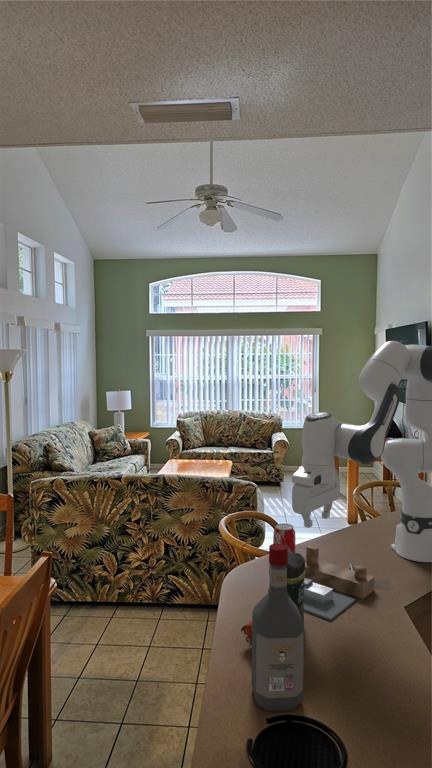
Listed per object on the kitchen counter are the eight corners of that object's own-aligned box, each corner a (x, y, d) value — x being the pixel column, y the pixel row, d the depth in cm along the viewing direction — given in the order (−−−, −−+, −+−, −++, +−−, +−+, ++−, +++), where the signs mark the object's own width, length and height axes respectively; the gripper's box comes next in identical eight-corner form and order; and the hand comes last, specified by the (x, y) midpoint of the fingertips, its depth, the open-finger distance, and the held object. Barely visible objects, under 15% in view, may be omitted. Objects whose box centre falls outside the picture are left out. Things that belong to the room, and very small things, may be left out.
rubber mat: (298, 582, 154) (298, 580, 154) (355, 601, 142) (355, 599, 142) (271, 598, 143) (271, 596, 143) (330, 621, 132) (330, 618, 132)
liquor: (305, 711, 99) (307, 555, 97) (257, 713, 98) (258, 556, 96) (294, 680, 108) (296, 538, 106) (250, 682, 107) (251, 539, 105)
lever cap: (294, 596, 144) (294, 581, 144) (304, 589, 148) (304, 576, 147) (323, 606, 138) (324, 591, 138) (333, 599, 142) (333, 585, 142)
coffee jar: (295, 644, 121) (296, 566, 120) (263, 635, 125) (264, 559, 124) (308, 625, 130) (309, 552, 128) (278, 617, 133) (279, 546, 132)
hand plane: (300, 578, 156) (300, 549, 156) (312, 571, 162) (312, 542, 161) (363, 599, 143) (363, 567, 143) (373, 590, 149) (374, 559, 148)
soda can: (294, 568, 164) (295, 530, 163) (271, 566, 165) (272, 529, 164) (295, 559, 171) (296, 523, 170) (274, 557, 172) (274, 522, 171)
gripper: (326, 464, 152) (325, 510, 153) (287, 477, 136) (287, 529, 137) (346, 467, 148) (345, 515, 149) (308, 481, 132) (308, 535, 133)
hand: (317, 522), depth 143 cm, fingers open, 8 cm apart
